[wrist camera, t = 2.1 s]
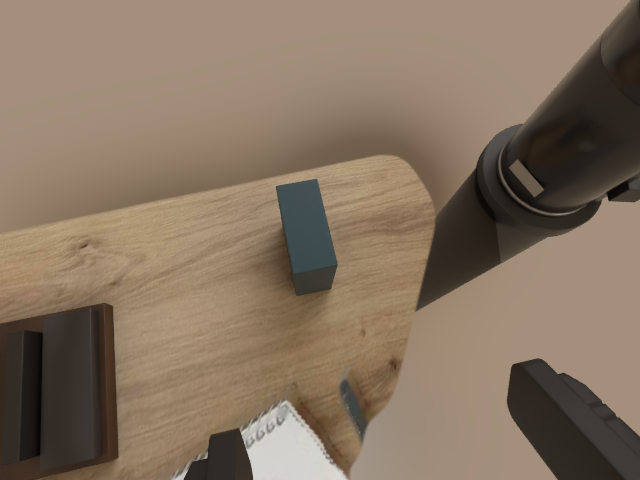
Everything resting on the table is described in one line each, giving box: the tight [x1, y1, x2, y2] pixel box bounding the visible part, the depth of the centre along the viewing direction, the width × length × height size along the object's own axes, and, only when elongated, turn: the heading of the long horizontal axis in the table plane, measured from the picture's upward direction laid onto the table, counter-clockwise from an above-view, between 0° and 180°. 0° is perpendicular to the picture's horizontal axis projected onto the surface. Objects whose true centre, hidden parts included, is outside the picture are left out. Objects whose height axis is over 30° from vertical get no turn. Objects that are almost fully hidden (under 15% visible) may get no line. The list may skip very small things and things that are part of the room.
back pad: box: [276, 179, 338, 296], centre depth 31 cm, size 3×7×8 cm, turn 12°
